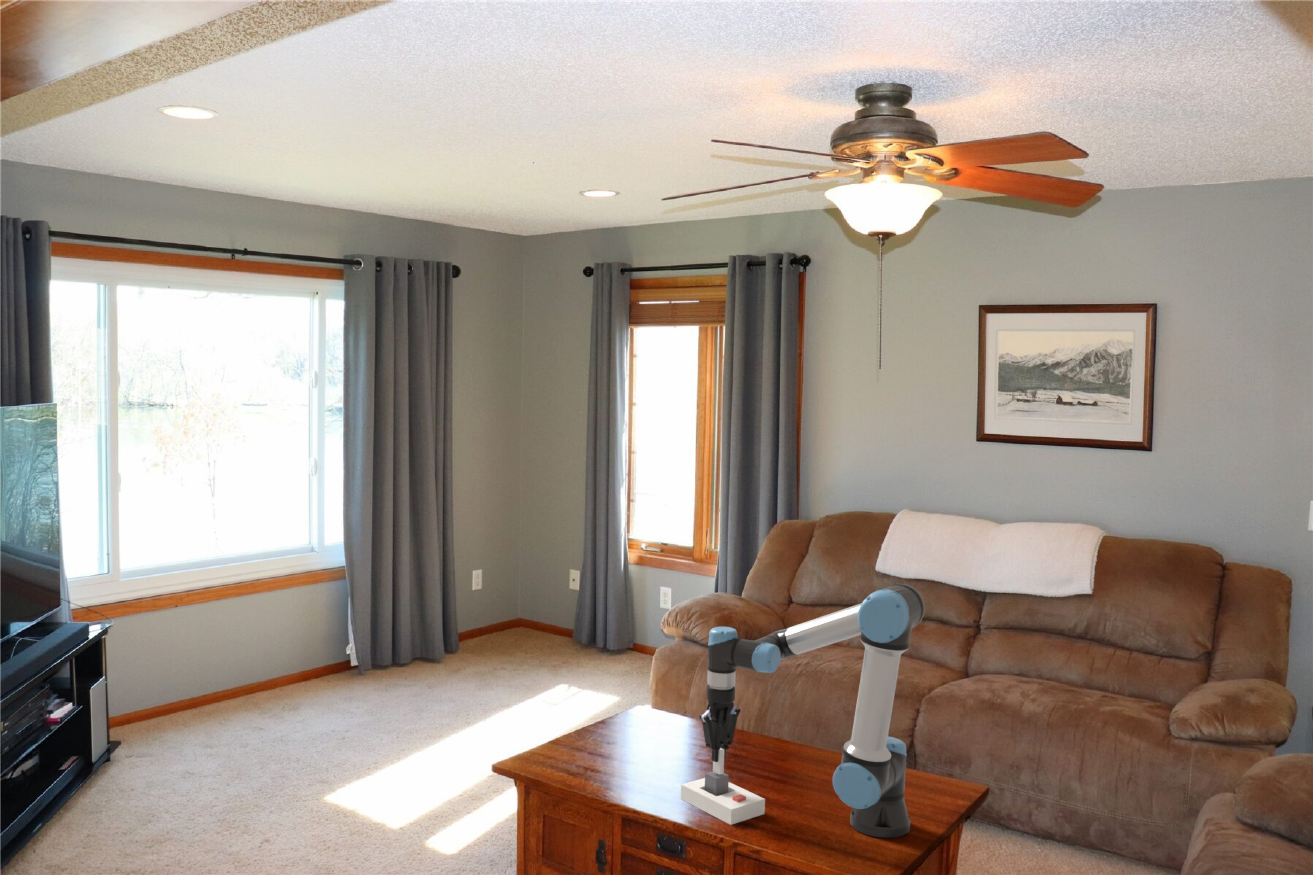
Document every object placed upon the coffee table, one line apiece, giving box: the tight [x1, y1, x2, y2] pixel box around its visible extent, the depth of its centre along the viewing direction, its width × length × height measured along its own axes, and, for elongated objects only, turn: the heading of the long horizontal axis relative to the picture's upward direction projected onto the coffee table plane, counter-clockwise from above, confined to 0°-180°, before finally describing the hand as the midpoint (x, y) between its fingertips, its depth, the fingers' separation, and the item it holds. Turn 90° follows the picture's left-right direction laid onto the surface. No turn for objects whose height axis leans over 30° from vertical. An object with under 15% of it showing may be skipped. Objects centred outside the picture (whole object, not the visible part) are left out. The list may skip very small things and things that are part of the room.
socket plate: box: [680, 777, 766, 826], centre depth 278 cm, size 20×12×5 cm, turn 38°
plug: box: [704, 770, 730, 796], centre depth 280 cm, size 4×4×8 cm
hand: (718, 772), depth 279 cm, fingers closed
